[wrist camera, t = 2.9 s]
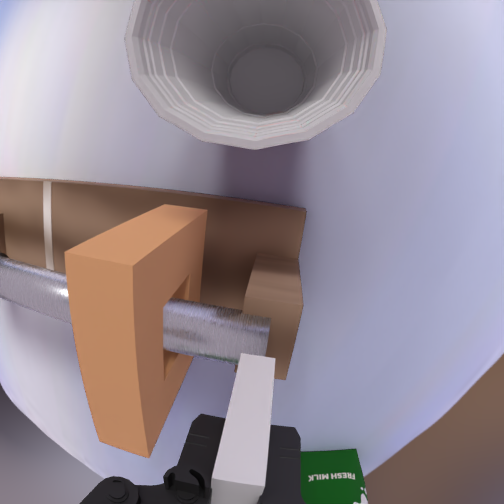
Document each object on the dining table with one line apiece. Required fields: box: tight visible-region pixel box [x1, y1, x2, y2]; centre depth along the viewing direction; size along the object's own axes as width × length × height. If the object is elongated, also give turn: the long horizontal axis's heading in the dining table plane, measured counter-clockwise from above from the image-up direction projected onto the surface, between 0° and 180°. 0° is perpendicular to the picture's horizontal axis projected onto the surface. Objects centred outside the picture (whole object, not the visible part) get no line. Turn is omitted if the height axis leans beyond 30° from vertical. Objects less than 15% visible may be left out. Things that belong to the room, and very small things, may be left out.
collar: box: [64, 204, 208, 458], centre depth 17 cm, size 11×3×11 cm, turn 172°
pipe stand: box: [0, 177, 306, 380], centre depth 22 cm, size 12×32×9 cm, turn 82°
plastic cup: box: [125, 0, 387, 150], centre depth 15 cm, size 11×11×12 cm
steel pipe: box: [0, 252, 271, 365], centre depth 18 cm, size 4×29×4 cm, turn 82°
